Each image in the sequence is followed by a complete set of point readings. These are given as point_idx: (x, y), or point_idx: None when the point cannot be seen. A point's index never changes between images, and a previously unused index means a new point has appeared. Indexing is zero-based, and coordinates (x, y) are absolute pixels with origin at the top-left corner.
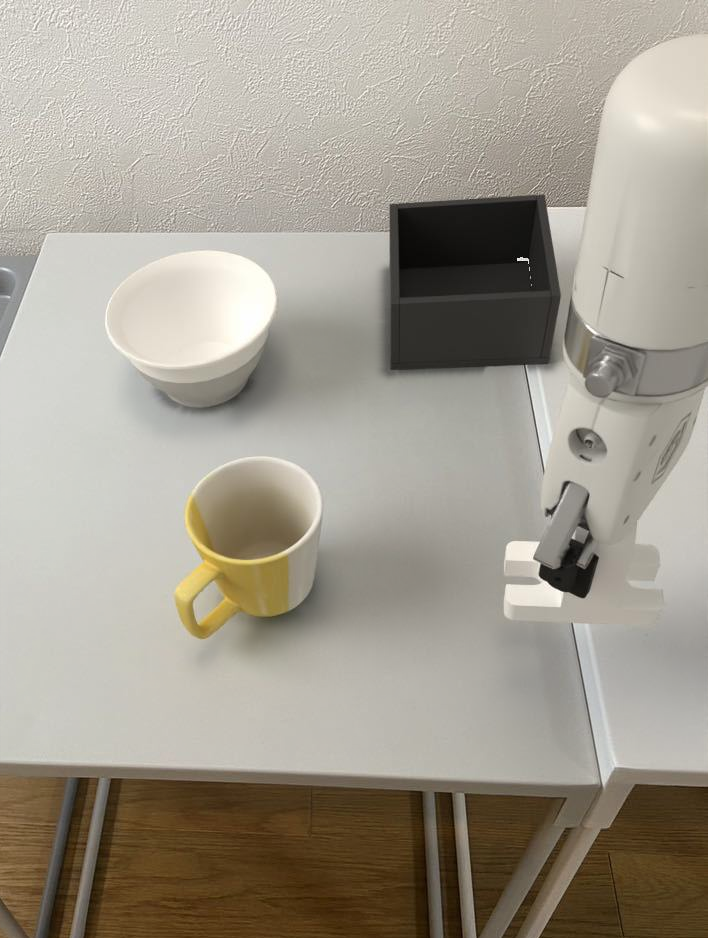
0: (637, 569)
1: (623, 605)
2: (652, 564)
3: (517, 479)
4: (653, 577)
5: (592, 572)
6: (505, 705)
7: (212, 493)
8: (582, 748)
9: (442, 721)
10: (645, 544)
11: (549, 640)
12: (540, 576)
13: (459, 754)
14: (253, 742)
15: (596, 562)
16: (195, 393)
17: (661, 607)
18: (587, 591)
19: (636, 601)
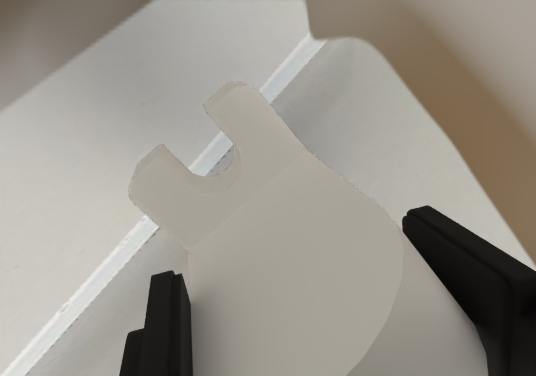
0: (188, 178)
1: (289, 143)
2: (168, 166)
3: (80, 368)
4: (163, 147)
5: (500, 250)
6: (345, 158)
7: None
8: (333, 57)
9: (403, 191)
10: (140, 207)
11: None
12: None
13: (423, 151)
14: None
15: (516, 271)
16: None
17: (245, 87)
18: (440, 214)
19: (266, 131)
